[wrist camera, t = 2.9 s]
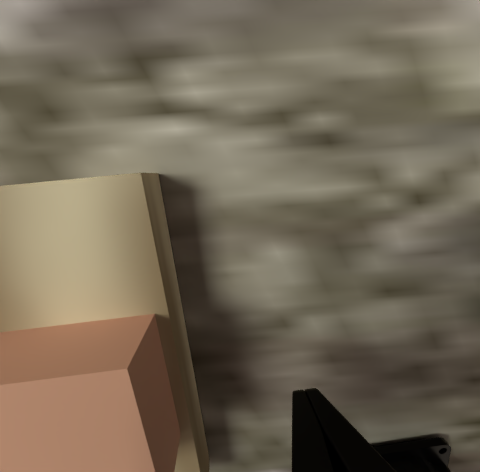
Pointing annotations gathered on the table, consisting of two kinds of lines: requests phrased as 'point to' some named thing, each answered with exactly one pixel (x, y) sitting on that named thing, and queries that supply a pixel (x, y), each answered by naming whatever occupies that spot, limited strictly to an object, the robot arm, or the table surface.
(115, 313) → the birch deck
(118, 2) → the table surface
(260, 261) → the table surface
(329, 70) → the table surface
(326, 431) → the robot arm
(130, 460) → the coral tile
